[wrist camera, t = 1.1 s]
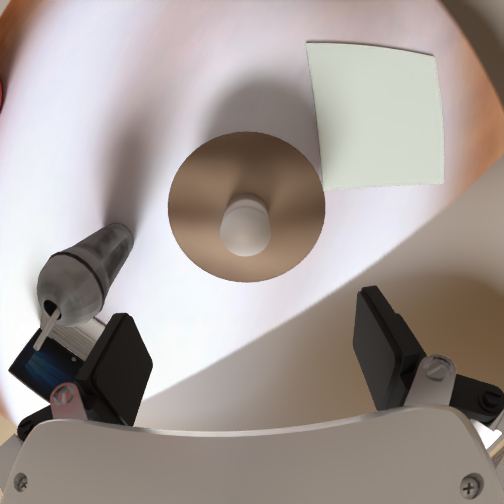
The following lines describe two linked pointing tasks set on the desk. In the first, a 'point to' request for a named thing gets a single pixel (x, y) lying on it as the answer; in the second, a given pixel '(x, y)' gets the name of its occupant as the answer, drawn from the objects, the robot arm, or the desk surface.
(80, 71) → the desk surface
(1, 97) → the plant pot
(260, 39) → the desk surface
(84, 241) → the beverage cup
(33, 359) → the laptop
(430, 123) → the mat
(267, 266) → the lid
